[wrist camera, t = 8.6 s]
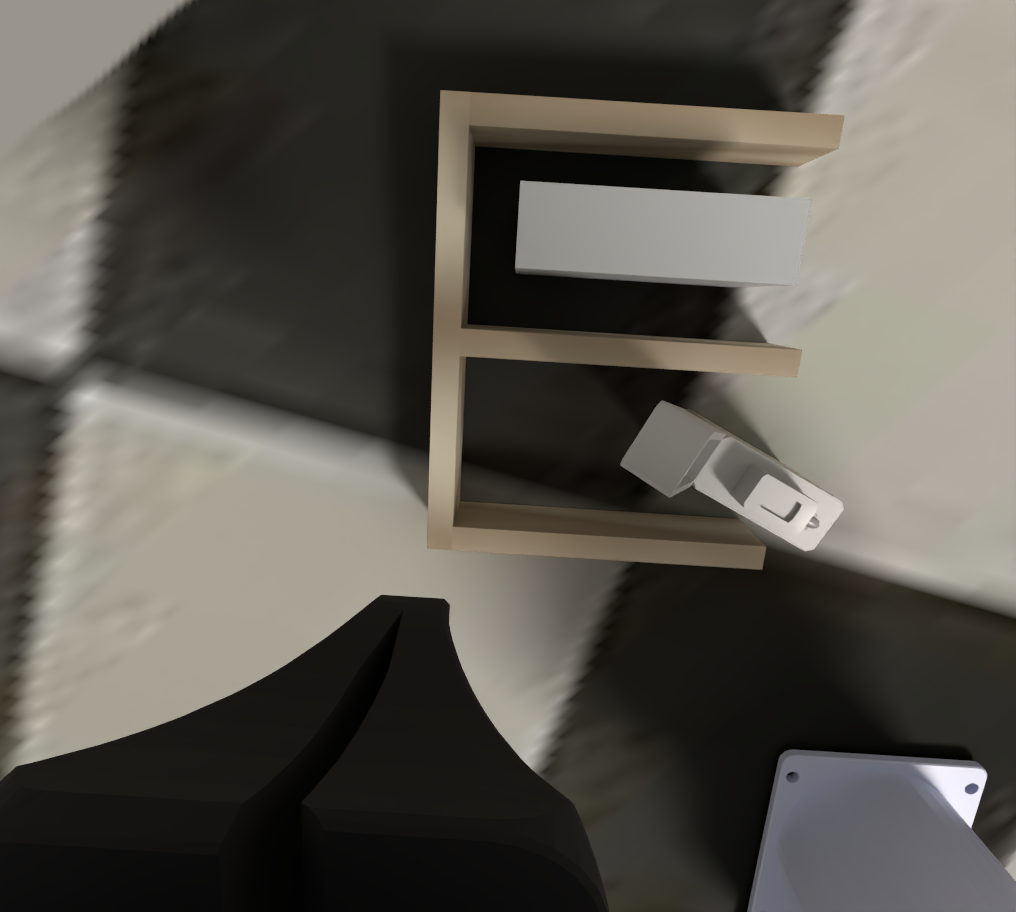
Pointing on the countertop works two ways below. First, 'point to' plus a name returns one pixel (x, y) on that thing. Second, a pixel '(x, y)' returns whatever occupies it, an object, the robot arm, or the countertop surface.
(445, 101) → the rack
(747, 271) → the grey block
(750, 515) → the lighter
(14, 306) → the countertop surface
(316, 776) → the robot arm
